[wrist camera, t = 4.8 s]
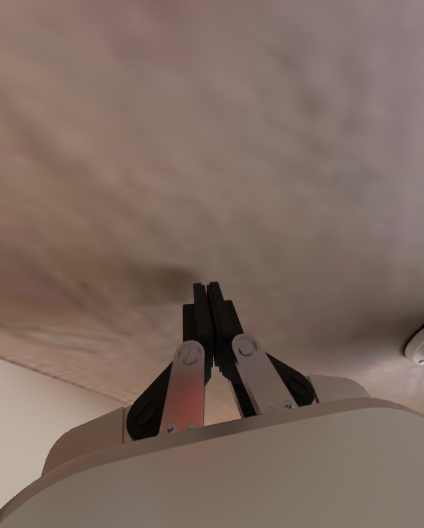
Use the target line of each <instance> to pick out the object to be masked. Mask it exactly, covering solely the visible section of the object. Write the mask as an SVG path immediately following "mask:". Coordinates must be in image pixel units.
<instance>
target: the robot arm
mask: <svg viewBox="0 0 424 528" xmlns="http://www.w3.org/2000/svg"><path fill="white" fill-rule="evenodd" d="M193 292H194V304H184V305H183V343H182V344H180V345H179V346H178V348H177V349H176V351H175V354H174V360H173V362H172V363H171V364H170V365H169V366H168V367H167V368H166V369H165V370H164V371H163V372H162V373H161V374H160V375H159V376H158V378H157V379H156V380H155V381H154V382H153V383H152V384H151V385H150V386H149V387H148V388H147V389H146V390H145V391H144V392H143V394H142V395H141V396H140V397H139V398H138V399H137V400H136V401H135V402H134V404H133V405H131V406H129V407H127V408H123V407H122V408H119V409H117V410H115V411H112V412H110V413H108V414H105V415H103V416H101V417H98V418H96V419H94V420H91V421H89V422H87V423H85V424H82V425H80V426H77V427H75V428H73V429H71V430H69V431H68V432H66V433H64V434H63V435H62V436H61V437H60V438H59V439H58V440H57V441H56V443H55V444H54V445H53V447H52V448H51V450H50V452H49V454H48V456H47V459H46V461H45V465H44V468H43V471H42V475H41V477H40V478H39V479H37V480H36V481H34V482H33V483H31V484H30V485H28V486H27V487H26V488H24V489H23V490H22V491H21V492H19V493H18V494H17V495H16V496H14V497H13V498H12V499H11V500H10V501H9V502H8V503H6V504H5V505H4V506H3V507H2V508H1V509H0V528H424V415H422V414H421V413H419V412H417V411H415V410H413V409H411V408H408V407H406V406H403V405H401V404H398V403H394V402H391V401H388V400H383V399H378V398H371V397H370V396H369V394H368V393H367V391H366V390H365V389H364V388H363V387H362V386H361V385H360V384H358V383H357V382H355V381H353V380H351V379H347V378H339V377H329V376H319V375H308V376H303V375H302V374H301V373H299V372H298V371H296V370H294V369H293V368H291V367H289V366H287V365H286V364H284V363H282V362H281V361H279V360H277V359H276V358H274V357H272V356H271V355H269V354H267V353H265V352H264V350H263V348H262V347H261V345H260V343H259V342H258V341H257V339H256V338H254V337H253V336H251V335H249V334H244V332H243V329H242V327H241V324H240V321H239V319H238V316H237V313H236V311H235V308H234V305H233V303H232V301H231V300H225V301H224V299H223V296H222V293H221V290H220V286H219V283H218V282H210V285H207V295H206V290H205V285H201V283H196V284H193ZM405 355H406V357H407V358H409V359H410V360H411V361H412V362H413V363H415V364H419V365H424V328H423V329H422V330H420V331H419V332H418V333H417V334H416V335H415V336H414V337H413V338H412V339H411V341H410V342H409V343H408V345H407V347H406V349H405ZM213 356H214V362H215V367H217V366H219V371H220V372H222V375H223V376H224V377H225V378H227V379H228V382H229V385H230V388H231V391H232V394H233V397H234V399H235V402H236V405H237V408H238V411H239V413H240V416H241V419H237V420H232V421H227V422H222V423H217V424H213V425H208V426H204V405H205V385H206V384H207V382H208V381H209V379H210V378H211V367H213Z"/></svg>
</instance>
